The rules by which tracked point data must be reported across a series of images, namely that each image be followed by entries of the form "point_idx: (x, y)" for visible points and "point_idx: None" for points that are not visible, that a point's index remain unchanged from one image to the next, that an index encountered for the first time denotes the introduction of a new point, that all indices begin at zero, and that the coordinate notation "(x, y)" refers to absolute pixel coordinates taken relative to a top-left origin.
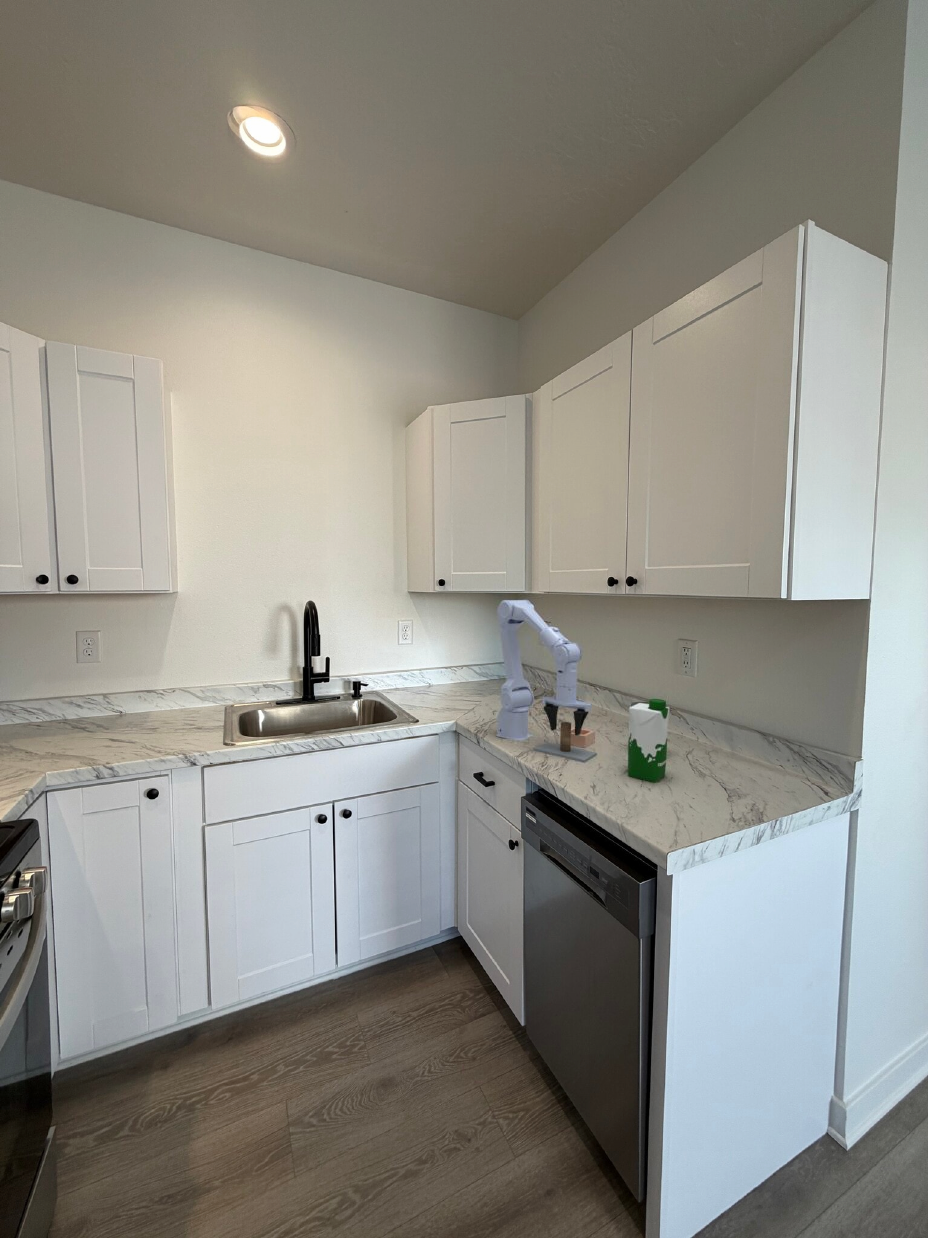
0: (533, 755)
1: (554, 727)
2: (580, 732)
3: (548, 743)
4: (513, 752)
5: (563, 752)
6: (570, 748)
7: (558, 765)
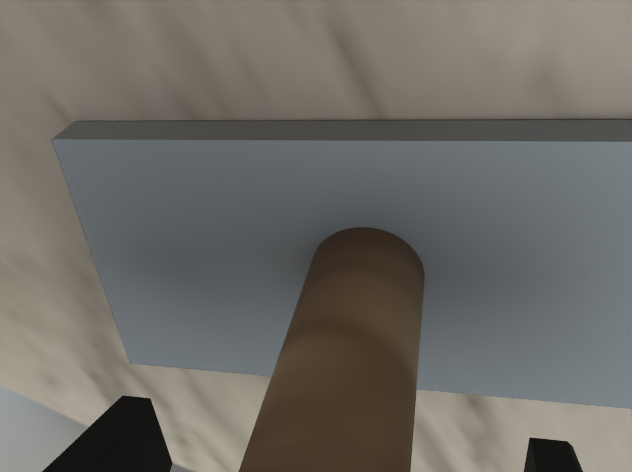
0: (195, 389)
1: (147, 466)
2: (579, 467)
3: (104, 185)
4: (65, 401)
5: None
6: (422, 288)
7: (458, 468)
